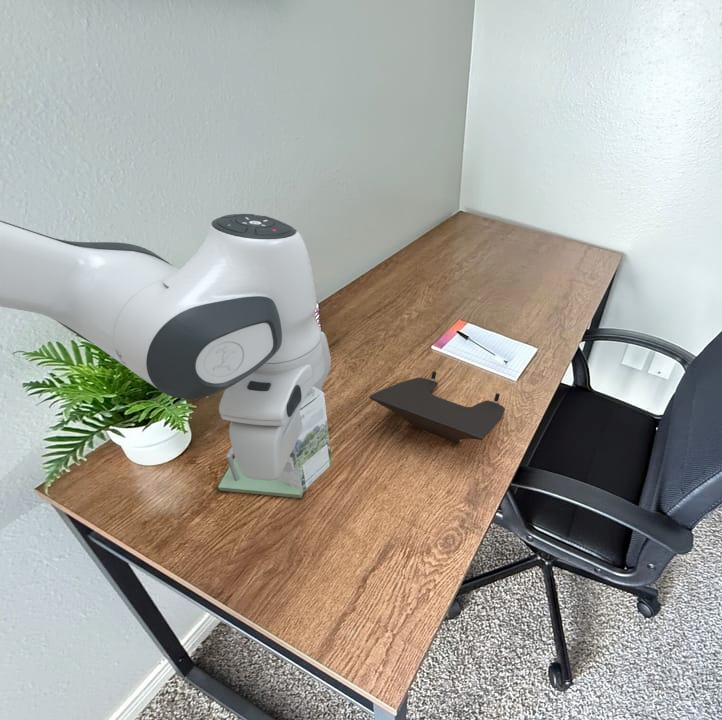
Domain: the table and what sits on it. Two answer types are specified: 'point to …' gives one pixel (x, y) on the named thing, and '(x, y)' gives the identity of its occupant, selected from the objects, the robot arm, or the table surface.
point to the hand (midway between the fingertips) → (299, 441)
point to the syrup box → (311, 443)
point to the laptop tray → (439, 411)
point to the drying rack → (254, 483)
